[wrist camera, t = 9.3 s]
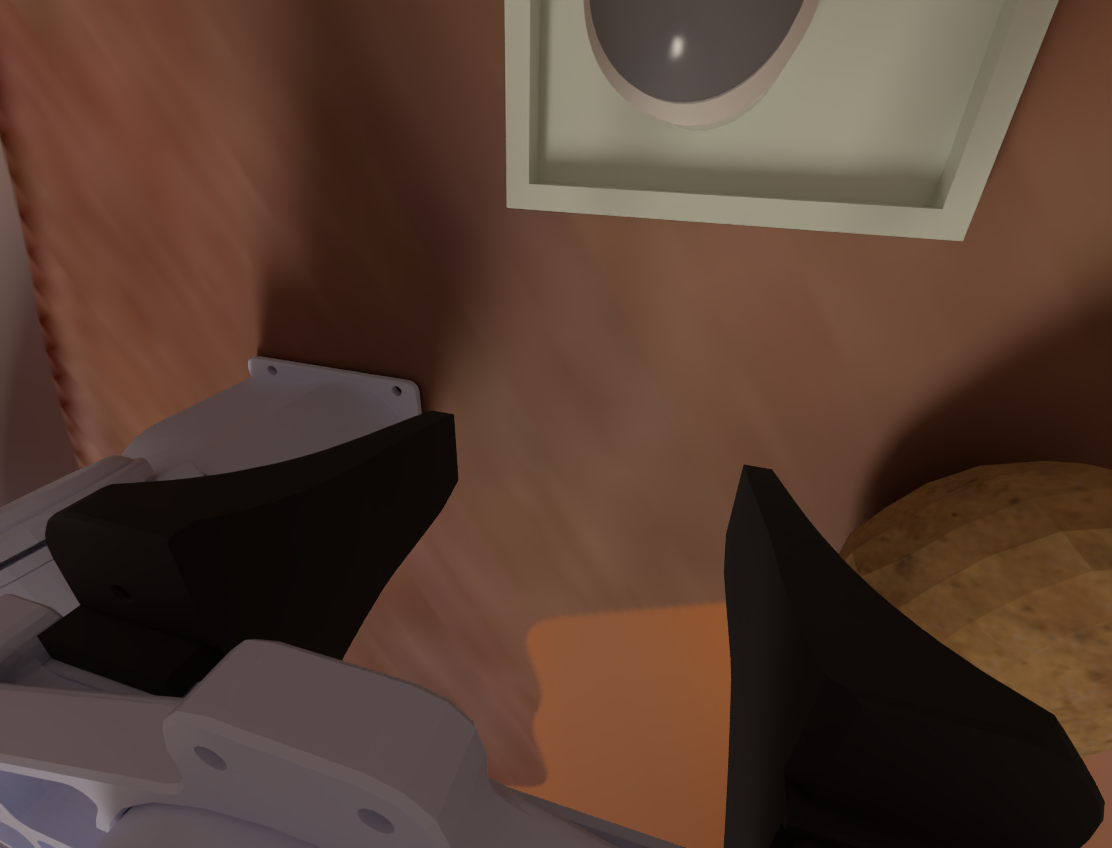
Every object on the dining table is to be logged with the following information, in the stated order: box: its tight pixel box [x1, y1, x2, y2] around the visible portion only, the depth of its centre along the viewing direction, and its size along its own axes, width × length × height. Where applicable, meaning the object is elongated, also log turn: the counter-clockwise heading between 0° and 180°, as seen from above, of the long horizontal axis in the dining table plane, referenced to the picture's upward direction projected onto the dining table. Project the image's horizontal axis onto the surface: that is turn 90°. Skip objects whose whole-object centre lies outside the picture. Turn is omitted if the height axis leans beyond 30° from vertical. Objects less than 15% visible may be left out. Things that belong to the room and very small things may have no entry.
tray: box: [505, 0, 1059, 241], centre depth 15 cm, size 14×10×2 cm
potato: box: [839, 461, 1112, 759], centre depth 18 cm, size 10×14×8 cm
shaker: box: [583, 0, 820, 130], centre depth 12 cm, size 5×5×7 cm
